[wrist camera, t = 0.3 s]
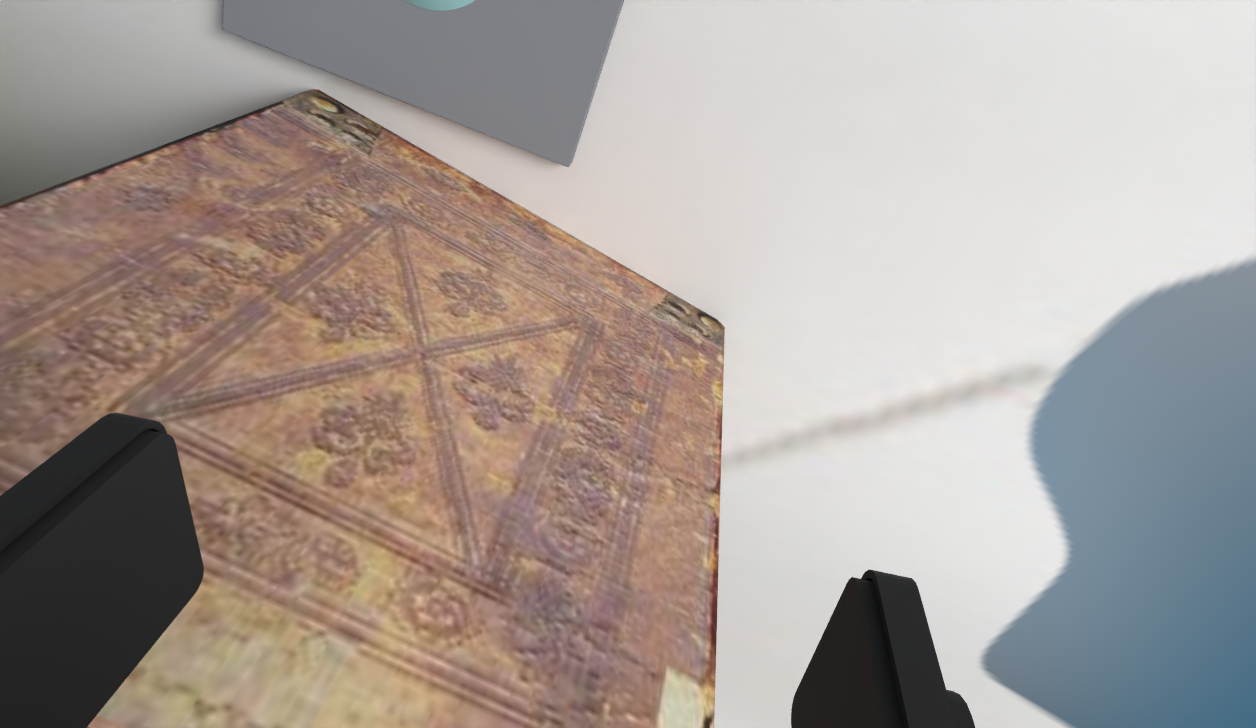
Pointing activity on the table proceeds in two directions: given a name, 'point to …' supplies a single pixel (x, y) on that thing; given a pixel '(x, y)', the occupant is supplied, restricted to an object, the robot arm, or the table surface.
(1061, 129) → the table surface
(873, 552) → the table surface
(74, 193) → the book
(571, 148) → the charging mat
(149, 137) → the table surface
